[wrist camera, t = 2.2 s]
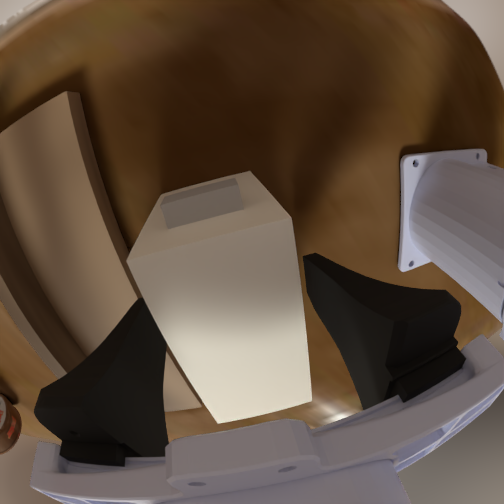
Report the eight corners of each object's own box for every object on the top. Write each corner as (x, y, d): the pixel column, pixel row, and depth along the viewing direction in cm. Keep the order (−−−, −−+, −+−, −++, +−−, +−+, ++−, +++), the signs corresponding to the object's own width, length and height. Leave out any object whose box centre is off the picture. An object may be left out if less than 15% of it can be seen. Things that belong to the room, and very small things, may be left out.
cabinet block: (246, 155, 13) (286, 188, 7) (277, 311, 17) (311, 400, 11) (156, 178, 13) (114, 234, 6) (209, 328, 17) (218, 423, 11)
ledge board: (79, 92, 10) (38, 87, 6) (201, 391, 20) (204, 433, 17) (-9, 148, 9) (-53, 163, 6) (127, 401, 20) (122, 439, 16)
